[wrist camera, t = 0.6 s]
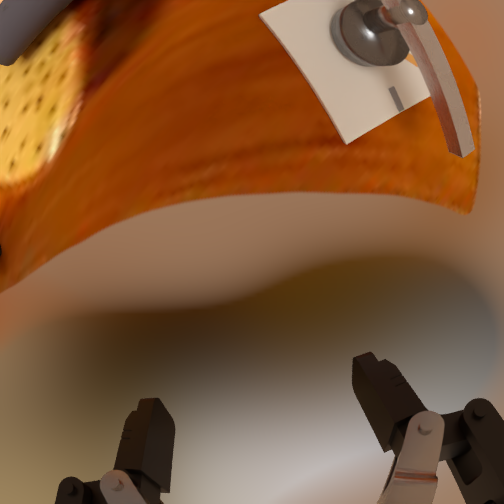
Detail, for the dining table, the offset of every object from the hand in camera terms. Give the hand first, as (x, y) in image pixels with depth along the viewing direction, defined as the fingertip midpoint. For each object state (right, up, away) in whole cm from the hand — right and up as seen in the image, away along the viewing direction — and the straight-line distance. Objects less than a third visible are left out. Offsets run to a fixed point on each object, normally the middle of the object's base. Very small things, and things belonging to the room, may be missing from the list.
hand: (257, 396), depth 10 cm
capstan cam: (+16, +29, +16) cm, 37 cm away
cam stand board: (+14, +31, +16) cm, 38 cm away
